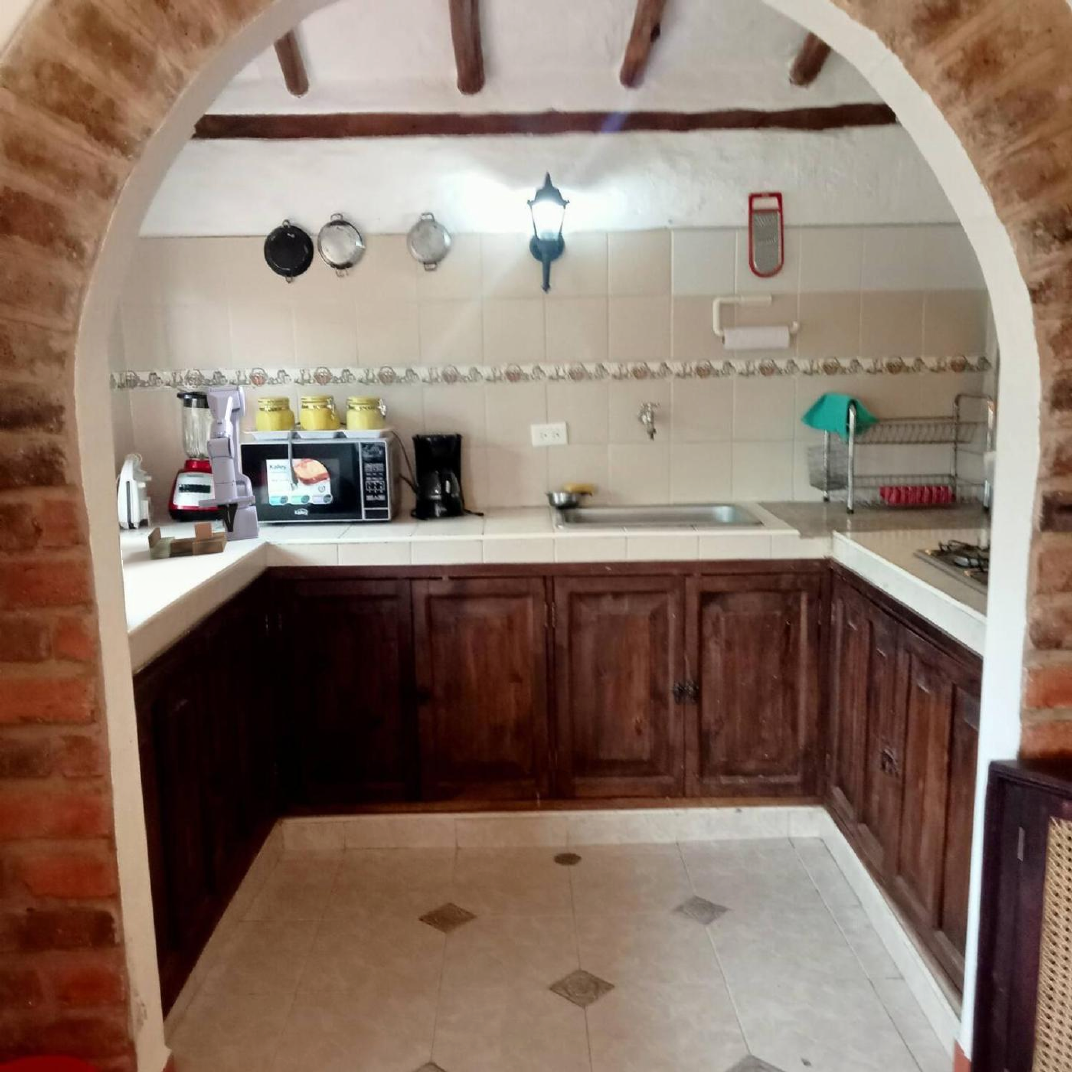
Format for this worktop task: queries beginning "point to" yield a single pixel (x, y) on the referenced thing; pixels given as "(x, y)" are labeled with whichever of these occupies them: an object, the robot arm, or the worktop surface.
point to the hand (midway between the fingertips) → (230, 531)
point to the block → (203, 530)
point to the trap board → (184, 545)
